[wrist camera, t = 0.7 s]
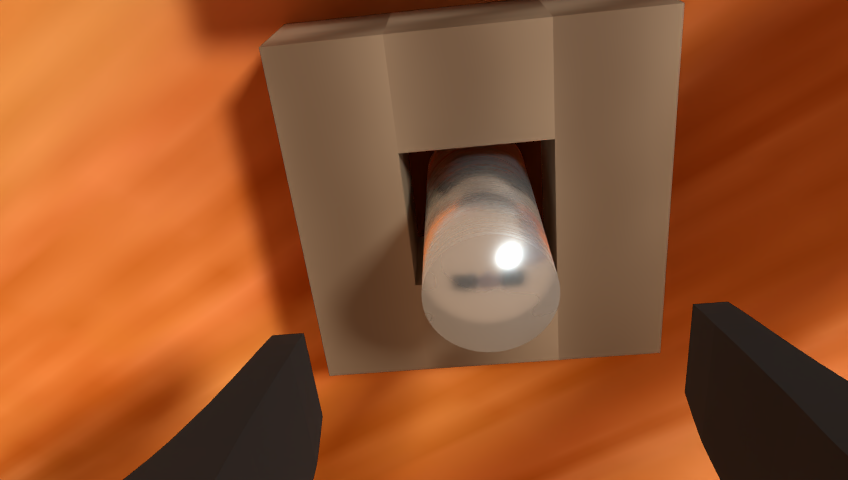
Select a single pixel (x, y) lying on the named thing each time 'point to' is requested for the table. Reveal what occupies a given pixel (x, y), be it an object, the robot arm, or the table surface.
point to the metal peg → (485, 250)
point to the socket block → (478, 126)
